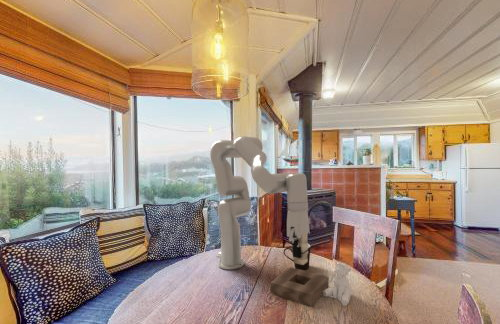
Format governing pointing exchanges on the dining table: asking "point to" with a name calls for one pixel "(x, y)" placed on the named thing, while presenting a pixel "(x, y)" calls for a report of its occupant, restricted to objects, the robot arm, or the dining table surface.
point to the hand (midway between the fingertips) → (300, 254)
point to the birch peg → (302, 250)
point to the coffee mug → (299, 266)
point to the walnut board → (300, 286)
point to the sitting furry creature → (340, 285)
